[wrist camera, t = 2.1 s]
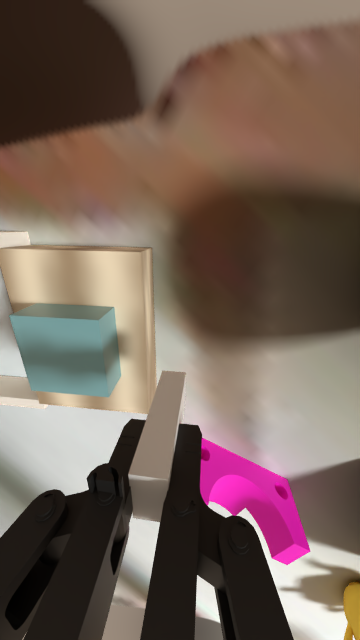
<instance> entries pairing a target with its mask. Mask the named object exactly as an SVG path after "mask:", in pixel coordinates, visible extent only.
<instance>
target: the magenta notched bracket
mask: <svg viewBox="0 0 360 640" xmlns="http://www.w3.org/2000/svg"><path fill="white" fill-rule="evenodd" d="M200 492H201V495H202V498H203V500H204V502H205V503H206V505H208V504H209V501H212V502H215V503H217V504H220V505H221V506H223V507H224V508H226V509H227V510H228V511H229V512H230V513H231V514H232V515H233V516H236V515H237V514H238V513H239V512H241V511H242V510H243V509H244V508H245V507H246V509H247V510H248V511H249V512H250V513H251V515H252V516H253V518H254V519H255V521H256V522H257V524H258V525H259V527H260V529H261V531H262V533H263V535H264V537H265V540H266V542H267V545H268V548H269V550H270V554H271V557H272V558H273V559H275V560H277V561H279V562H281V563H284V564H286V565H288V564H290V563H291V562H293V561H295V560H296V559H298V558H300V557H301V556H303V555H305V554H307V553H308V552H310V548H309V545H308V542H307V539H306V536H305V533H304V530H303V527H302V524H301V521H300V517H299V514H298V511H297V508H296V505H295V502H294V499H293V496H292V493H291V490H290V486H289V483H288V480H287V479H285V478H283V477H281V476H279V475H277V474H275V473H273V472H271V471H269V470H267V469H265V468H263V467H261V466H259V465H257V464H255V463H253V462H251V461H249V460H247V459H245V458H243V457H240V456H238V455H236V454H234V453H232V452H230V451H228V450H226V449H224V448H222V447H220V446H218V445H216V444H214V443H212V442H210V441H208V440H206V439H204V438H202V447H201V474H200Z"/></svg>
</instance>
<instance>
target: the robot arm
mask: <svg viewBox="0 0 360 640" xmlns="http://www.w3.org/2000/svg"><path fill="white" fill-rule="evenodd" d="M185 387H186V373H185V372H173V371H162V374H161V377H160V380H159V383H158V386H157V389H156V392H155V395H154V398H153V401H152V404H151V407H150V410H149V413H148V416H147V419H146V420H138V419H131V420H130V421H129V422H128V423H127V424H126V425H125V426H124V428H123V430H122V433H121V435H120V437H119V440H118V442H117V445H116V447H115V449H114V451H113V454H112V456H111V458H110V461H109V463H106V464H102V465H100V466H97V467H96V468H95V469H94V470H93V471H91V473H90V474H89V476H88V477H87V482H88V487H89V490H87V491H84V492H81V493H77V494H72V495H68V496H65V495H64V494H63V493H62V492H61V491H60V490H55V489H53V490H49V491H46V492H44V493H42V494H40V495H39V496H38V497H37V498H36V499H34V500H33V501H32V502H31V504H30V505H29V506H28V507H27V508H26V509H25V510H24V512H23V513H22V514H21V515H20V516H19V517H18V518H17V520H16V521H15V522H14V523H13V524H12V525H11V526H10V528H9V529H8V530H7V531H6V532H5V533H4V534H3V536H2V537H1V538H0V640H22V638H23V637H24V635H25V634H26V635H25V637H24V640H101V639H102V636H103V632H104V628H105V624H106V621H107V617H108V612H109V609H110V605H111V602H112V598H113V594H114V590H115V586H116V582H117V579H118V575H119V571H120V567H121V563H122V559H123V556H124V552H125V548H126V544H127V540H128V536H129V522H130V518H131V515H132V512H133V518H138V519H144V520H150V521H157V522H160V527H159V533H158V538H157V544H156V550H155V556H154V562H153V568H152V574H151V579H150V585H149V591H148V597H147V603H146V609H145V615H144V621H143V627H142V633H141V639H140V640H194V635H195V610H196V585H197V575H198V576H200V577H201V578H203V579H204V580H205V581H207V582H208V583H210V584H211V585H213V586H214V588H215V593H216V599H217V605H218V611H219V616H220V622H221V628H222V633H223V639H224V640H294V639H293V636H292V633H291V630H290V627H289V625H288V622H287V619H286V616H285V613H284V610H283V607H282V604H281V601H280V598H279V595H278V593H277V590H276V587H275V584H274V581H273V578H272V575H271V572H270V569H269V566H268V563H267V560H266V558H265V555H264V552H263V549H262V546H261V543H260V540H259V537H258V535H257V533H256V531H255V529H254V527H253V526H252V525H251V524H250V523H249V522H248V521H247V520H246V519H244V518H242V517H240V516H233V515H232V516H230V517H227V518H225V517H223V516H221V515H220V514H218V513H216V512H214V511H213V510H212V509H210V508H209V507H208V506H207V505H206V503H205V502H204V500H203V498H202V495H201V492H200V474H201V447H202V433H201V431H200V428H199V426H198V425H189V424H183V417H184V410H185ZM27 630H28V631H27ZM26 632H27V633H26Z"/></svg>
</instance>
